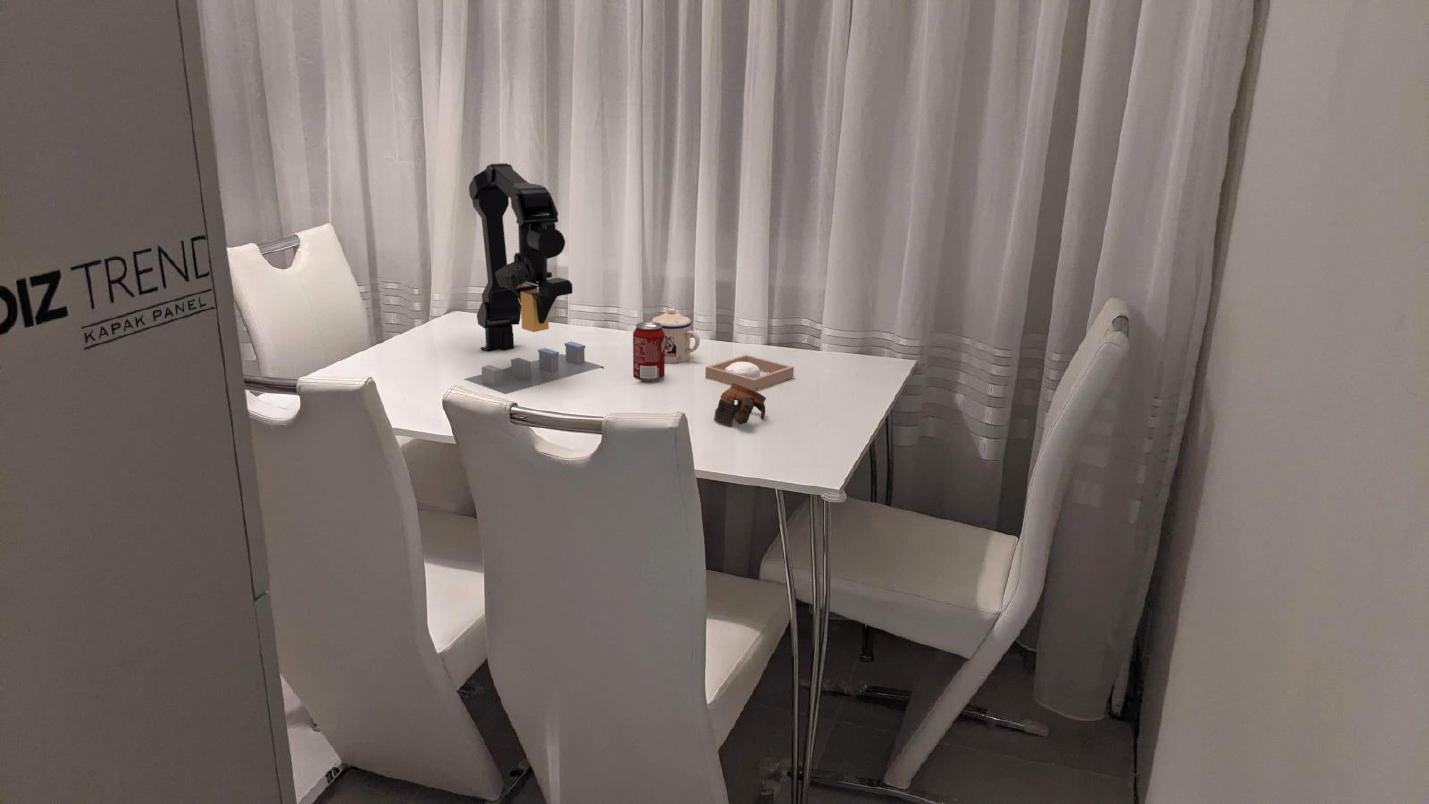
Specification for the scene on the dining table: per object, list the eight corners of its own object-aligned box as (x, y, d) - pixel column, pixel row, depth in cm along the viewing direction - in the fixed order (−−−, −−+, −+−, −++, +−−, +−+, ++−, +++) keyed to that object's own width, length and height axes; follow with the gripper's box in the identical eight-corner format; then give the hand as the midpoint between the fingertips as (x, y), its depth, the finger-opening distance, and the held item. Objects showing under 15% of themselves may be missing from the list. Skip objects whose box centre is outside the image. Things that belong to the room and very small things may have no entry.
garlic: (736, 387, 227) (736, 370, 226) (716, 379, 232) (717, 362, 231) (765, 380, 231) (765, 364, 230) (745, 373, 237) (745, 356, 235)
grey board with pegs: (463, 383, 224) (462, 360, 223) (561, 358, 244) (561, 336, 242) (505, 398, 216) (504, 374, 214) (603, 370, 235) (603, 348, 233)
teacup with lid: (643, 359, 244) (643, 310, 240) (665, 350, 251) (666, 302, 248) (687, 368, 238) (688, 317, 234) (709, 359, 246) (710, 309, 242)
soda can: (660, 384, 227) (660, 330, 223) (629, 382, 228) (629, 327, 224) (667, 375, 233) (668, 322, 229) (637, 373, 234) (637, 320, 230)
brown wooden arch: (705, 417, 209) (722, 378, 210) (747, 436, 212) (764, 398, 212) (720, 422, 198) (738, 381, 198) (764, 442, 200) (782, 402, 200)
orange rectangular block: (521, 328, 227) (520, 291, 224) (536, 325, 229) (535, 288, 227) (533, 332, 224) (532, 295, 222) (548, 328, 227) (547, 292, 224)
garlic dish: (705, 377, 232) (705, 366, 231) (745, 365, 242) (745, 354, 241) (753, 391, 223) (754, 380, 223) (793, 377, 233) (793, 366, 232)
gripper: (474, 246, 222) (477, 319, 227) (529, 260, 210) (532, 337, 215) (517, 240, 229) (520, 310, 234) (573, 253, 217) (574, 327, 222)
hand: (535, 321), depth 226 cm, fingers closed on orange rectangular block, 4 cm apart
